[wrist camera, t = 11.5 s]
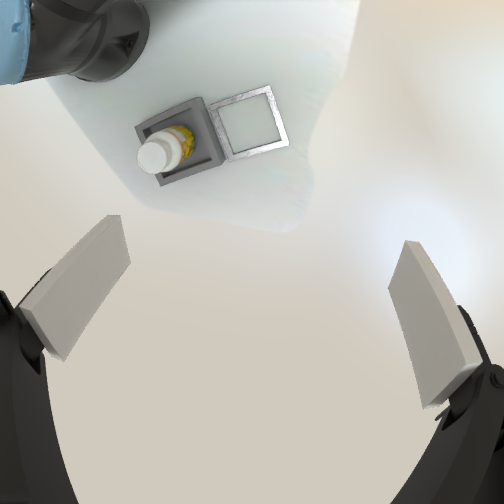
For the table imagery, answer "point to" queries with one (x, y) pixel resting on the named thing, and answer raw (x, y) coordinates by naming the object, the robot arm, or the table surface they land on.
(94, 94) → the table surface
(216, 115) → the socket collar
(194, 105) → the bin
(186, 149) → the supplement bottle
